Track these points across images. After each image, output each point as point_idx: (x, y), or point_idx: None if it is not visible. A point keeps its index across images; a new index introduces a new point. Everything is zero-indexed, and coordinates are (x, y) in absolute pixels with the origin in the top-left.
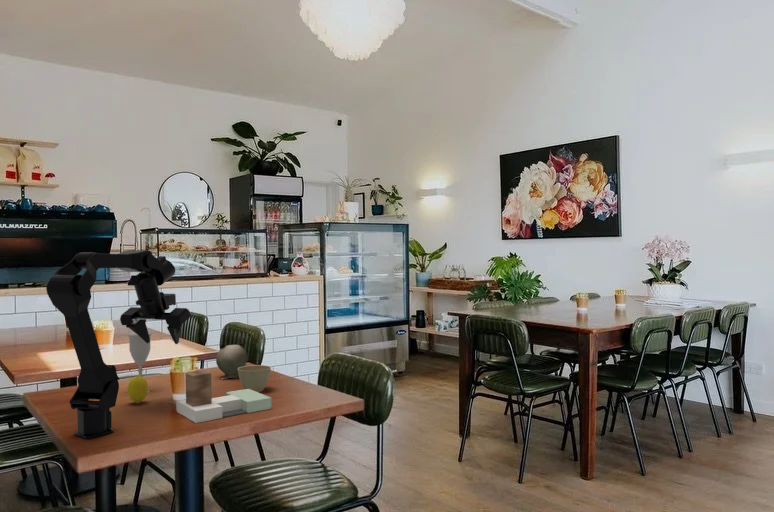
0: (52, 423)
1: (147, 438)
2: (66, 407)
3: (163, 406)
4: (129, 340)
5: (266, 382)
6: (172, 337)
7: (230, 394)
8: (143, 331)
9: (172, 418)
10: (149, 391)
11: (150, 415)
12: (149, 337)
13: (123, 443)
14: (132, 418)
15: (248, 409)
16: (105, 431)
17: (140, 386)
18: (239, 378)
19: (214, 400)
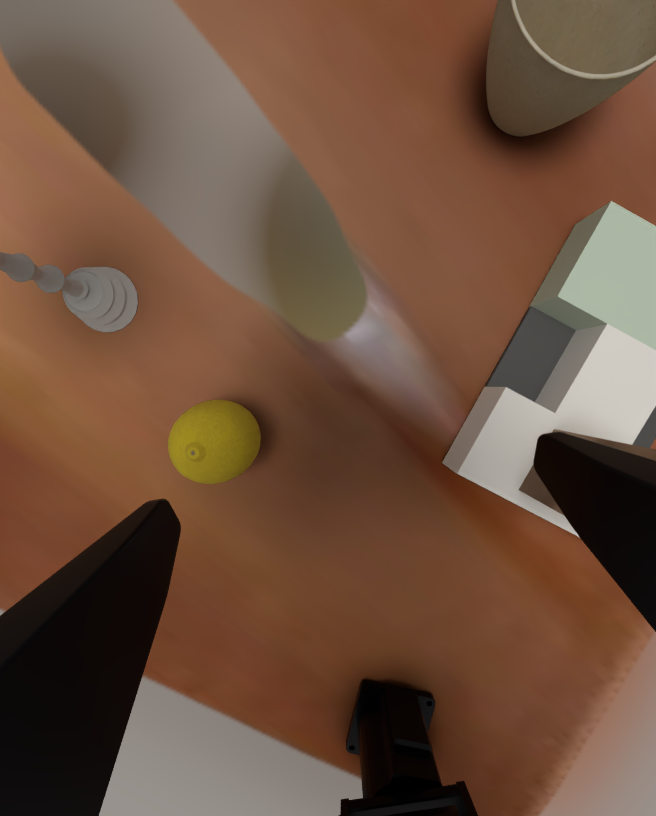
0: (189, 693)
1: (557, 693)
2: (56, 558)
3: (350, 428)
4: None
5: (607, 47)
6: (653, 610)
7: (597, 318)
8: (58, 749)
9: (485, 527)
10: (126, 276)
11: (394, 527)
12: (137, 531)
13: (528, 744)
14: (367, 572)
15: None
16: (423, 716)
17: (247, 462)
18: (510, 93)
19: (595, 420)
